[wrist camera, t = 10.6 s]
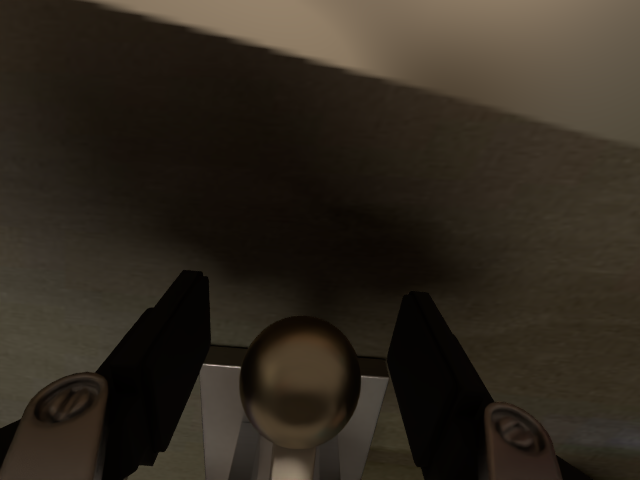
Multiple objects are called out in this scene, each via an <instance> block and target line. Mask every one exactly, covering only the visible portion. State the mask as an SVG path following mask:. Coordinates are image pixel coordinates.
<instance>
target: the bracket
mask: <svg viewBox="0 0 640 480" xmlns="http://www.w3.org/2000/svg"><path fill="white" fill-rule="evenodd" d="M247 350H248V349H243V348H230V347H217V346H210V348H209V351H208V354H207V356H206V359H205V361H204V363H203V366H202V368H201V370H200V390H201V407H202V425H203V442H204V459H205V476H206V480H269V478H270V468H271V458H272V448H273V443H272V442H270V441H268V440H267V439H265V438H264V437H263V436H262V435H261V434H260V433H259V432H258V431H257V430H256V429H255V428H254V427H253V426H252V424H251V423H250V421H249V420H248V418H247V416H246V414H245V412H244V409H243V406H242V403H241V399H240V393H239V375H240V369H241V365H242V362H243V359H244V356H245V354H246V352H247ZM357 358H358V357H357ZM358 361H359V365H360V370H361V391H360V397H359V400H358V404H357V407H356V409H355V411H354V414H353V415H352V417H351V419H350V420H349V422H348V423H347V424H346V426H345V427H344V428H343V429H342V430H341V431H340V432H339V433H338V434H337V435H336V436H335V437H333V438H332V439H331V440H329V441H327V442H326V443H324V444H321V445H319V446H316V456H315V466H314V476H313V480H361V477H362V473H363V470H364V466H365V463H366V459H367V456H368V452H369V448H370V445H371V441H372V438H373V434H374V431H375V427H376V424H377V420H378V416H379V413H380V409H381V406H382V402H383V399H384V395H385V392H386V388H387V385H388V381H389V375H388V371H387V367H386V363H385V360H383V359H371V358H358Z"/></svg>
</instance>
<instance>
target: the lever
mask: <svg viewBox="0 0 640 480" xmlns="http://www.w3.org/2000/svg"><path fill="white" fill-rule="evenodd" d="M360 391H361V370H360V365H359V361H358V358H357V355H356V353H355V350H354V348H353V347H352V345H351V343H350V342H349V340H348V339H347V338H346V336H345V335H344V334H343V333H342V332H341V331H340V330H339V329H337V328H336V327H335V326H334V325H332V324H330V323H329V322H327V321H324V320H322V319H319V318H316V317H312V316H291V317H287V318H284V319H281V320H279V321H276V322H275V323H273V324H271V325H269V326H268V327H267V328H265V329H264V330H263V331H262V332H261V333H260V334H259V335H258V336H257V337H256V338H255V339H254V341H253V342H252V343H251V345H250V346H249V348H248V350H247V352H246V354H245V356H244V359H243V362H242V365H241V369H240V375H239V393H240V399H241V403H242V406H243V409H244V412H245V414H246V416H247V418H248V420H249V421H250V423H251V424H252V426H253V427H254V428H255V429H256V430H257V431H258V432H259V433H260V434H261V435H262V436H263V437H264V438H265V439H267V440H268V441H270V442H272V443H273V448H272V458H271V468H270V478H269V480H313V476H314V466H315V456H316V446H319V445H321V444H324V443H326V442H327V441H329V440H331V439H332V438H333V437H335V436H336V435H337V434H338V433H339V432H340V431H341V430H342V429H343V428H344V427H345V426H346V424H347V423H348V422H349V420H350V419H351V417H352V415H353V414H354V411H355V409H356V407H357V404H358V400H359V397H360Z"/></svg>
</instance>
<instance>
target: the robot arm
mask: <svg viewBox="0 0 640 480" xmlns="http://www.w3.org/2000/svg"><path fill="white" fill-rule="evenodd" d="M210 343H211V331H210V303H209V279H208V277H207V276H203V273H202V272H201V271H191V270H183V271H182V272H181V273H180V275H179V276H178V277H177V279H176V280H175V281H174V282H173V284H172V285H171V286H170V287H169V289H168V290H167V291H166V293H165V294H164V295H163V296H162V298H161V299H160V300H159V302H158V303H157V304H156V305H155V307H154V308H148V309H147V310H146V311H145V312H144V313H143V314H142V315H141V317H140V318H139V319H138V320H137V322H136V323H135V324H134V325H133V326H132V328H131V329H130V330H129V331H128V333H127V334H126V335H125V336H124V338H123V339H122V340H121V341H120V343H119V344H118V345H117V346H116V347H115V349H114V350H113V351H112V352H111V354H110V355H109V356H108V357H107V359H106V360H105V361H104V362H103V364H102V365H101V366H100V367H99V368H98V370H97V371H96V372H95V373H92V372H83V373H75V374H72V375H68V376H65V377H63V378H60V379H58V380H56V381H54V382H52V383H50V384H49V385H47V386H46V387H45V388H43V389H42V390H40V391H39V392H38V393H37V394H36V395H35V396H34V397H33V398H32V399H31V401H30V402H29V404H28V405H27V407H26V409H25V411H24V413H23V416H22V418H21V419H20V420H18V421H16V422H14V423H11V424H9V425H7V426H5V427H2V428H0V480H127V479H128V476H129V475H130V474H132V473H133V472H135V471H136V470H137V468H138V466H139V465H145V466H153V464H154V462H155V460H156V457H157V455H158V453H159V452H164V451H166V449H167V447H168V445H169V443H170V441H171V438H172V436H173V434H174V431H175V429H176V426H177V424H178V422H179V419H180V417H181V415H182V412H183V410H184V408H185V405H186V403H187V401H188V398H189V396H190V394H191V391H192V389H193V387H194V384H195V382H196V380H197V377H198V375H199V373H200V370H201V368H202V366H203V363H204V361H205V359H206V356H207V354H208V351H209V348H210ZM387 363H388V368H389V371H390V375H391V379H392V382H393V386H394V390H395V393H396V397H397V401H398V404H399V408H400V412H401V415H402V419H403V423H404V427H405V430H406V434H407V438H408V441H409V445H410V449H411V452H412V456H413V460H414V463H415V465H416V466H417V467H421V469H422V472H423V476H424V479H425V480H593V479H591V478H590V477H588V476H587V475H585V474H584V473H582V472H581V471H579V470H578V469H576V468H575V467H573V466H572V465H570V464H569V463H567V462H566V461H564V460H563V459H561V458H560V457H558V456H557V455H556V454H555V450H554V447H553V443H552V441H551V439H550V436H549V434H548V433H547V431H546V430H545V429H544V427H543V426H542V424H540V423H539V422H538V421H537V420H536V419H535V418H534V417H533V416H532V415H530V414H529V413H527V412H526V411H525V410H523V409H521V408H519V407H517V406H515V405H513V404H509V403H506V402H494V400H493V399H492V397H491V395H490V394H489V392H488V390H487V389H486V387H485V385H484V384H483V382H482V380H481V379H480V377H479V375H478V373H477V372H476V370H475V368H474V367H473V365H472V363H471V362H470V360H469V358H468V357H467V355H466V353H465V351H464V350H463V348H462V346H461V345H460V343H459V341H458V340H457V338H456V337H455V335H454V334H452V332H451V330H450V329H449V327H448V325H447V324H446V322H445V320H444V318H443V317H442V315H441V313H440V312H439V310H438V308H437V307H436V305H435V303H434V301H433V300H432V298H431V296H430V295H429V293H427V292H419V291H410V292H409V294H408V295H404V296H403V298H402V302H401V306H400V310H399V313H398V317H397V321H396V325H395V328H394V332H393V336H392V340H391V343H390V347H389V351H388V355H387Z"/></svg>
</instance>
